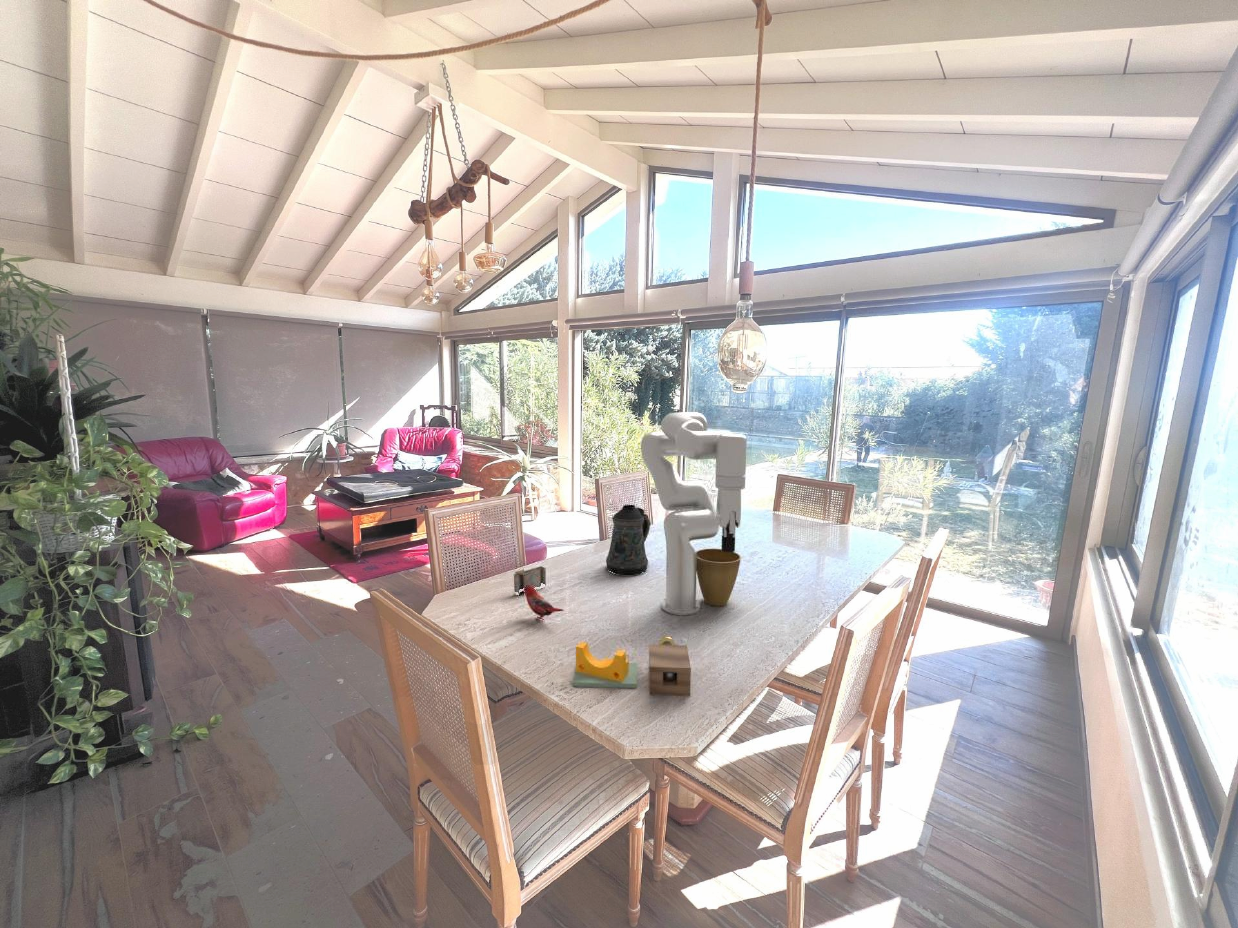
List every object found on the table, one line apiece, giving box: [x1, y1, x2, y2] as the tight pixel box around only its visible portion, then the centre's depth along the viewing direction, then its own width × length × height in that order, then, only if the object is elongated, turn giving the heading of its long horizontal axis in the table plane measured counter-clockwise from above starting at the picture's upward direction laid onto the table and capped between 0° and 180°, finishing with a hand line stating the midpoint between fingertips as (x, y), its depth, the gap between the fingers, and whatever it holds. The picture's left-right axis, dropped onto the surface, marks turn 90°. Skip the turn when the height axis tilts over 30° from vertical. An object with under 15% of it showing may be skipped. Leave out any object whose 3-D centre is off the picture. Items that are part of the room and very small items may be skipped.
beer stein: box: [605, 504, 651, 576], centre depth 192 cm, size 16×19×25 cm
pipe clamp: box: [575, 641, 630, 682], centre depth 118 cm, size 12×4×6 cm, turn 68°
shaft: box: [658, 635, 676, 681], centre depth 119 cm, size 15×4×4 cm, turn 177°
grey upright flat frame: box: [513, 565, 547, 594], centre depth 170 cm, size 11×3×10 cm, turn 134°
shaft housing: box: [648, 644, 692, 697], centre depth 116 cm, size 10×9×7 cm
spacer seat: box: [572, 662, 638, 689], centre depth 119 cm, size 9×15×1 cm, turn 87°
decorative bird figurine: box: [524, 585, 565, 621], centre depth 147 cm, size 3×18×10 cm, turn 50°
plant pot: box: [695, 548, 742, 607], centre depth 161 cm, size 15×15×16 cm
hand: (728, 550), depth 128 cm, fingers closed
